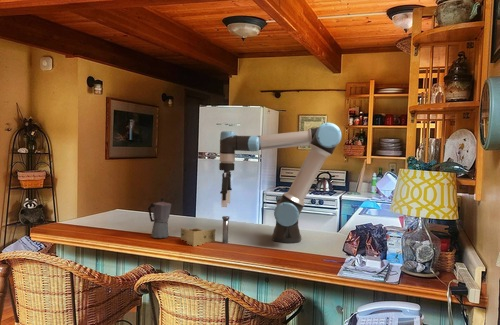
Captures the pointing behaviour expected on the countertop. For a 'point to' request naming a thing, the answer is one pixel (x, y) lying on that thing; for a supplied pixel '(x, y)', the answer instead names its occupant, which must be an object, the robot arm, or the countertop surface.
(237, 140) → the robot arm
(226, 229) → the pin
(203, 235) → the wooden box
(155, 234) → the moka pot
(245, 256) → the countertop surface
